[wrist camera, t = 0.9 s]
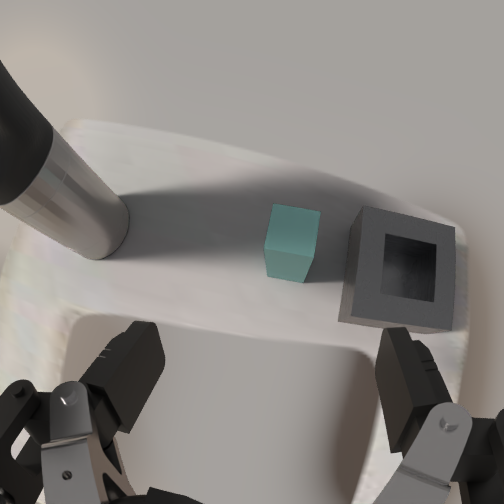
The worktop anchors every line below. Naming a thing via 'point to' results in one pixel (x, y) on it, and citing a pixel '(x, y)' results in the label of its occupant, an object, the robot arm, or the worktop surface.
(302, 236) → the teal peg
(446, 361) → the worktop surface
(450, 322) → the socket block
